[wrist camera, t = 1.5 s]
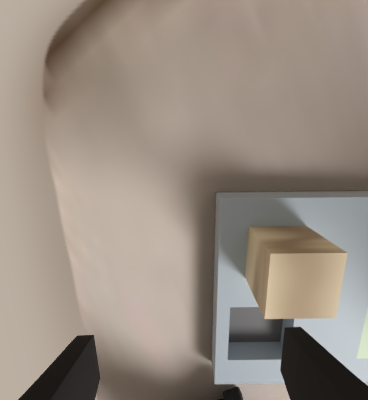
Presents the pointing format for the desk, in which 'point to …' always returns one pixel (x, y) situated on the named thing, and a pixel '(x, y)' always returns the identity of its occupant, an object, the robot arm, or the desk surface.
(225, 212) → the board
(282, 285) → the block
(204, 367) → the desk surface
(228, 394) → the scope
